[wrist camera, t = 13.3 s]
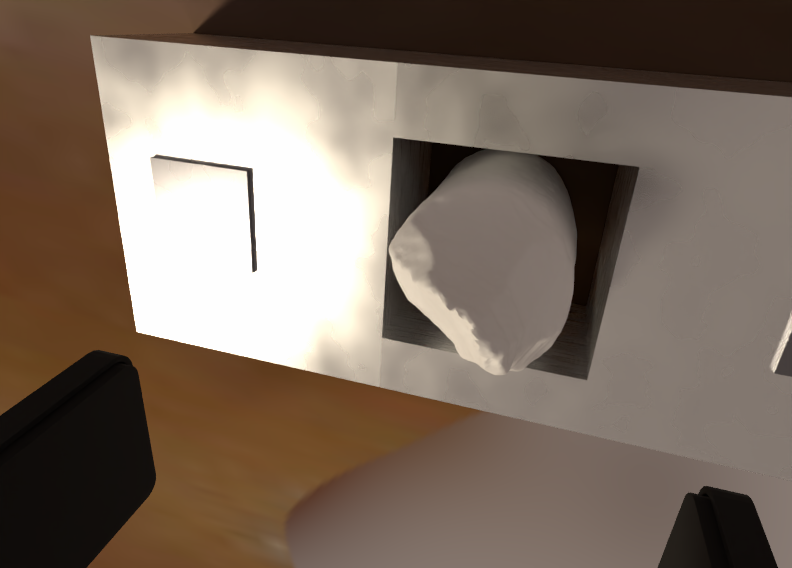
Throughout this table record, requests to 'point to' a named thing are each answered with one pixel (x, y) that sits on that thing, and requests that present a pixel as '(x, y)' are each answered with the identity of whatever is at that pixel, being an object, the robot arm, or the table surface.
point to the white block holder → (408, 187)
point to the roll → (492, 258)
